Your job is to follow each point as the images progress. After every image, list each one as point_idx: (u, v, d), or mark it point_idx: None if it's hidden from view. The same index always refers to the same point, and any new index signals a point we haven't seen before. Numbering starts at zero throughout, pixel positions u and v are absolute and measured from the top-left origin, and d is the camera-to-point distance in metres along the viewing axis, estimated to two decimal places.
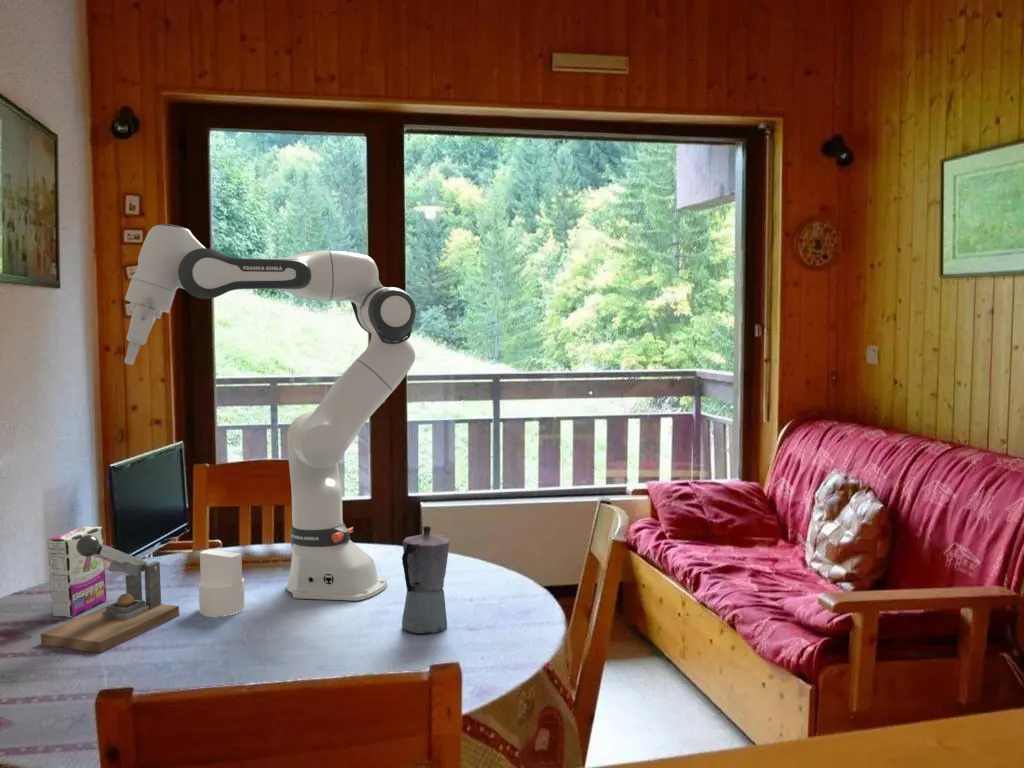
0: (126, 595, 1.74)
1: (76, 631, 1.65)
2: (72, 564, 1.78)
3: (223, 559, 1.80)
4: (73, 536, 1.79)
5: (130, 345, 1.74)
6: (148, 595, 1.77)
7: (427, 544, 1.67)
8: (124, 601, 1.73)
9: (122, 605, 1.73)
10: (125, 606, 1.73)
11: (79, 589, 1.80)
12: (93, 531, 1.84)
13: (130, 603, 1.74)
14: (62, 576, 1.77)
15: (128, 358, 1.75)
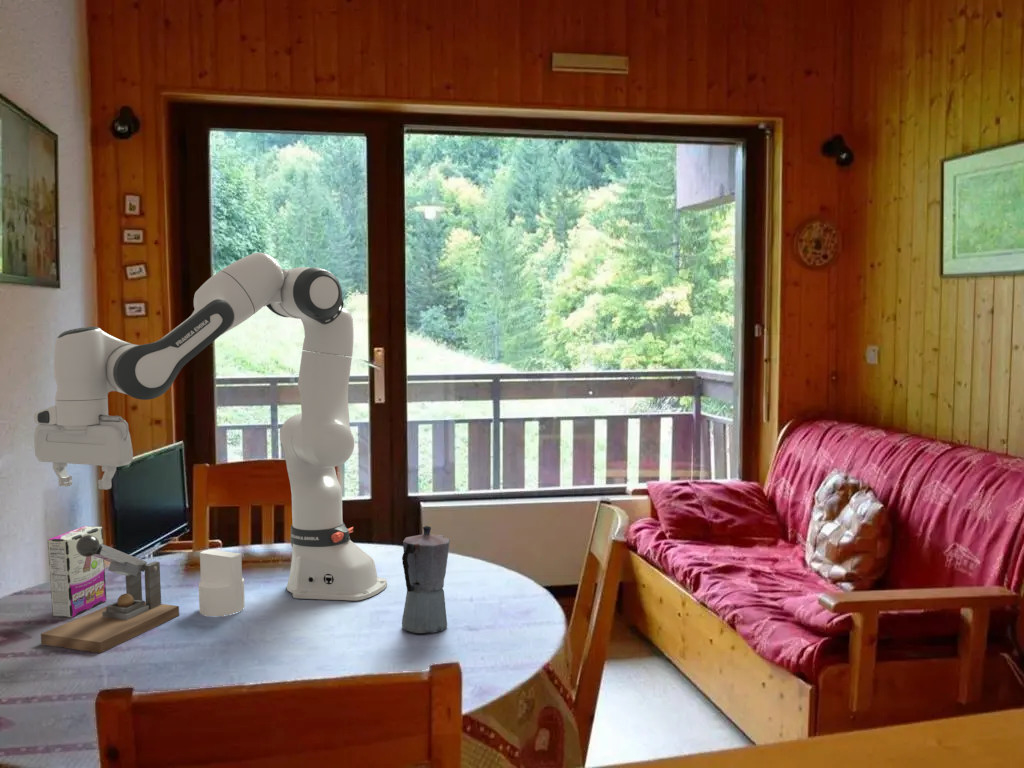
0: (126, 595, 1.74)
1: (76, 631, 1.65)
2: (72, 564, 1.78)
3: (223, 560, 1.80)
4: (73, 536, 1.79)
5: (109, 470, 1.61)
6: (148, 595, 1.77)
7: (427, 544, 1.67)
8: (124, 601, 1.73)
9: (122, 605, 1.73)
10: (125, 606, 1.73)
11: (79, 589, 1.80)
12: (93, 531, 1.84)
13: (130, 603, 1.74)
14: (62, 576, 1.77)
15: (106, 483, 1.62)
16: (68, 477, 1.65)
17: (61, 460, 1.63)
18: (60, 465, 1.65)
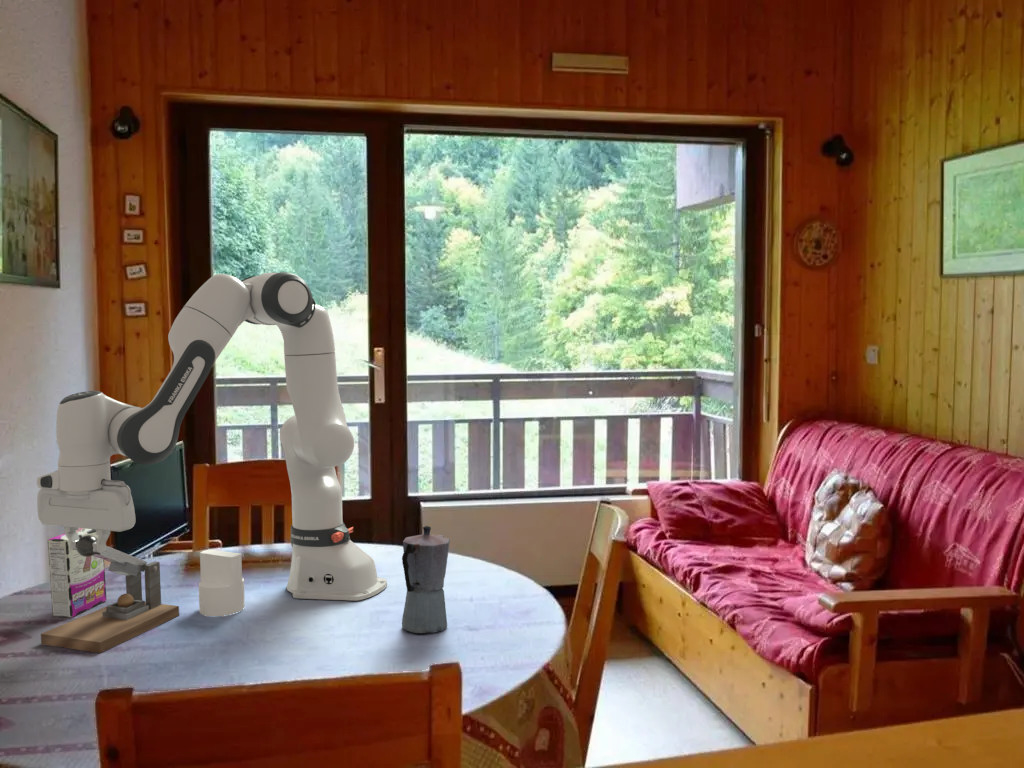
0: (126, 595, 1.74)
1: (76, 631, 1.65)
2: (72, 564, 1.78)
3: (223, 559, 1.80)
4: None
5: (103, 533, 1.63)
6: (148, 595, 1.77)
7: (427, 544, 1.67)
8: (124, 601, 1.73)
9: (122, 605, 1.73)
10: (125, 606, 1.73)
11: (79, 589, 1.80)
12: (93, 531, 1.84)
13: (130, 603, 1.74)
14: (62, 576, 1.77)
15: (101, 546, 1.64)
16: None
17: (64, 524, 1.64)
18: (71, 529, 1.65)
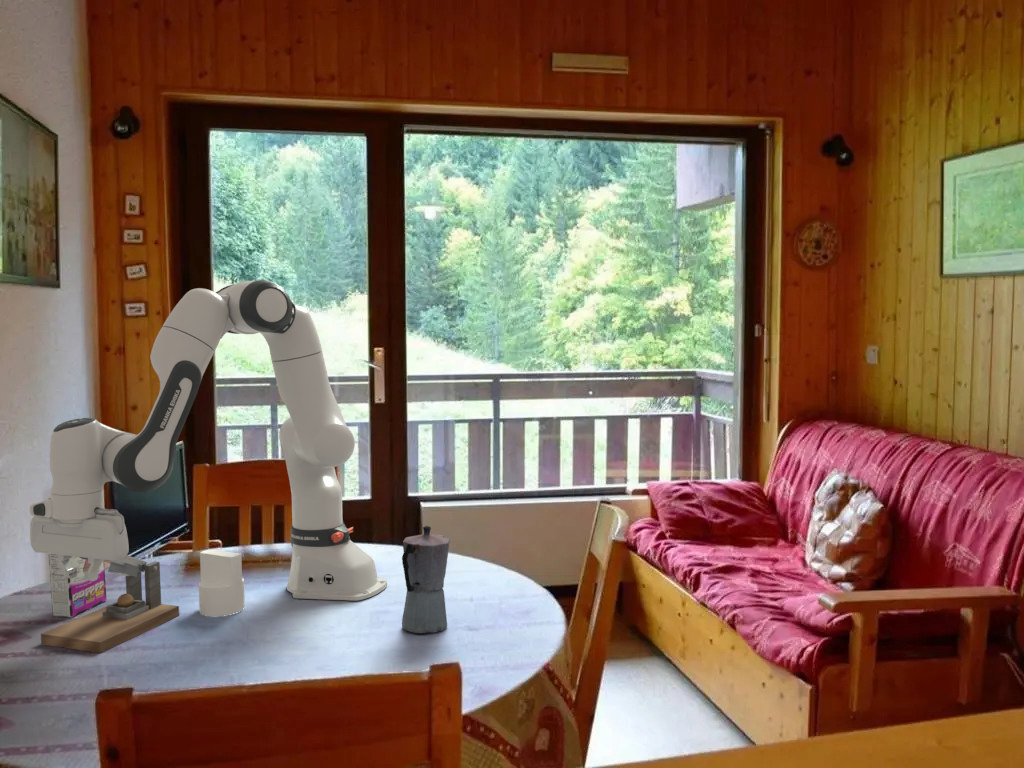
0: (126, 595, 1.74)
1: (76, 631, 1.65)
2: None
3: (223, 559, 1.80)
4: None
5: (95, 562, 1.61)
6: (148, 595, 1.77)
7: (427, 544, 1.67)
8: (124, 601, 1.73)
9: (122, 605, 1.73)
10: (125, 606, 1.73)
11: (79, 589, 1.80)
12: None
13: (130, 603, 1.74)
14: (62, 576, 1.77)
15: (92, 575, 1.62)
16: (73, 569, 1.64)
17: (57, 552, 1.63)
18: (65, 557, 1.64)
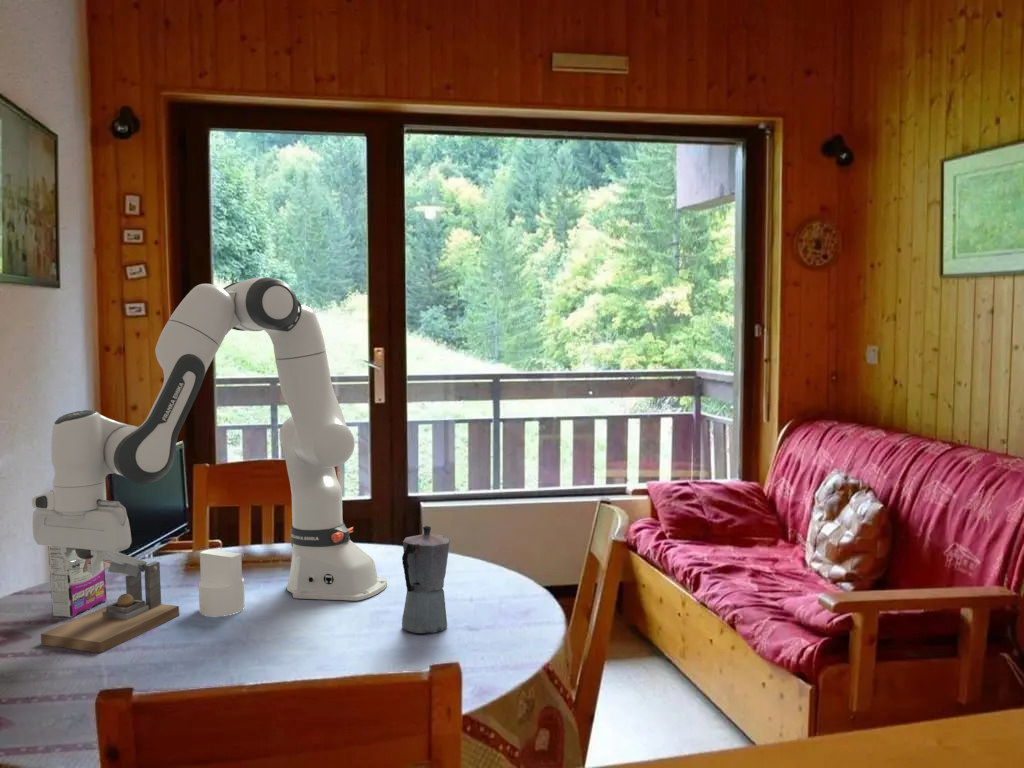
0: (126, 595, 1.74)
1: (76, 631, 1.65)
2: None
3: (223, 559, 1.80)
4: None
5: (98, 554, 1.62)
6: (148, 595, 1.77)
7: (427, 544, 1.67)
8: (124, 601, 1.73)
9: (122, 605, 1.73)
10: (125, 606, 1.73)
11: (79, 589, 1.80)
12: None
13: (130, 603, 1.74)
14: (62, 576, 1.77)
15: (95, 566, 1.63)
16: (76, 561, 1.65)
17: (59, 544, 1.63)
18: (68, 549, 1.64)
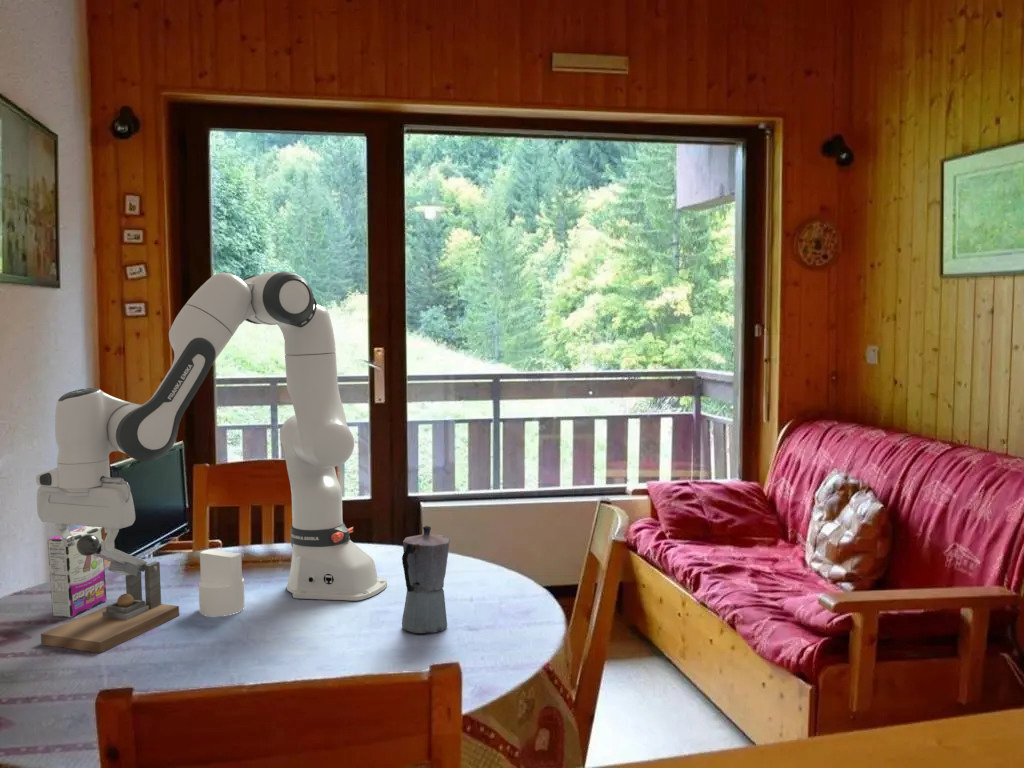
0: (126, 595, 1.74)
1: (76, 631, 1.65)
2: (72, 564, 1.78)
3: (223, 559, 1.80)
4: None
5: (111, 531, 1.62)
6: (148, 595, 1.77)
7: (427, 544, 1.67)
8: (124, 601, 1.73)
9: (122, 605, 1.73)
10: (125, 606, 1.73)
11: (79, 589, 1.80)
12: (93, 531, 1.84)
13: (130, 603, 1.74)
14: (62, 576, 1.77)
15: (109, 544, 1.63)
16: (71, 537, 1.66)
17: (64, 521, 1.64)
18: (63, 525, 1.66)
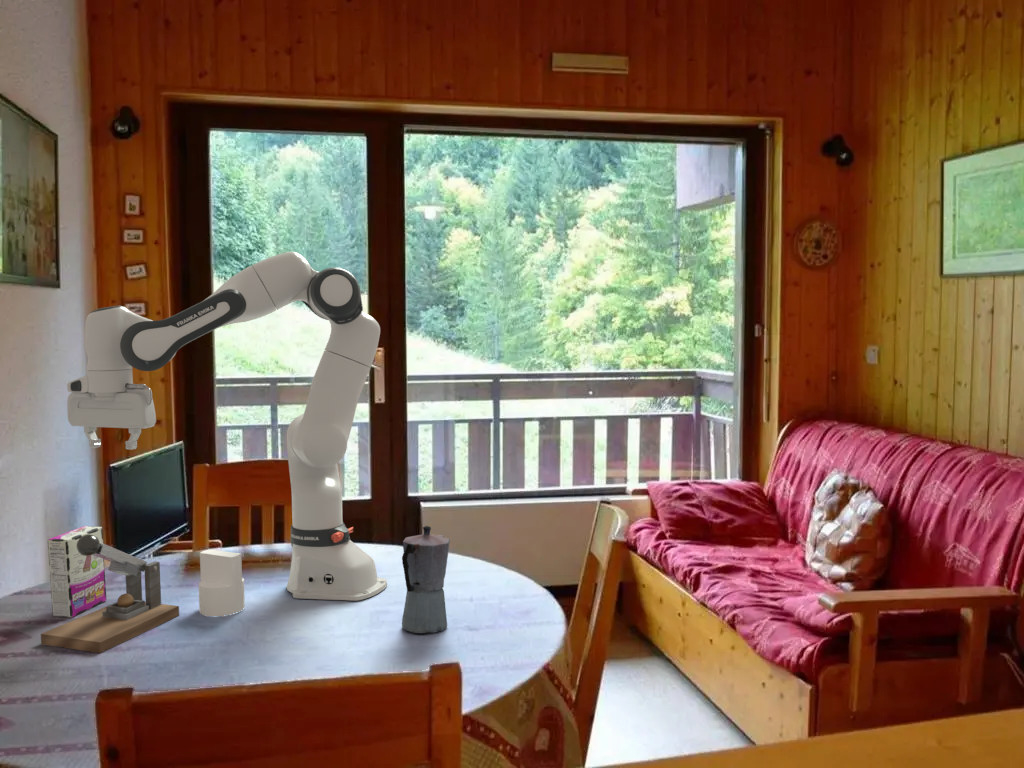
0: (126, 595, 1.74)
1: (76, 631, 1.65)
2: (72, 564, 1.78)
3: (223, 559, 1.80)
4: (73, 536, 1.79)
5: (135, 432, 1.82)
6: (148, 595, 1.77)
7: (427, 544, 1.67)
8: (124, 601, 1.73)
9: (122, 605, 1.73)
10: (125, 606, 1.73)
11: (79, 589, 1.80)
12: (93, 531, 1.84)
13: (130, 603, 1.74)
14: (62, 576, 1.77)
15: (133, 444, 1.83)
16: (98, 439, 1.87)
17: (92, 424, 1.84)
18: (90, 429, 1.86)
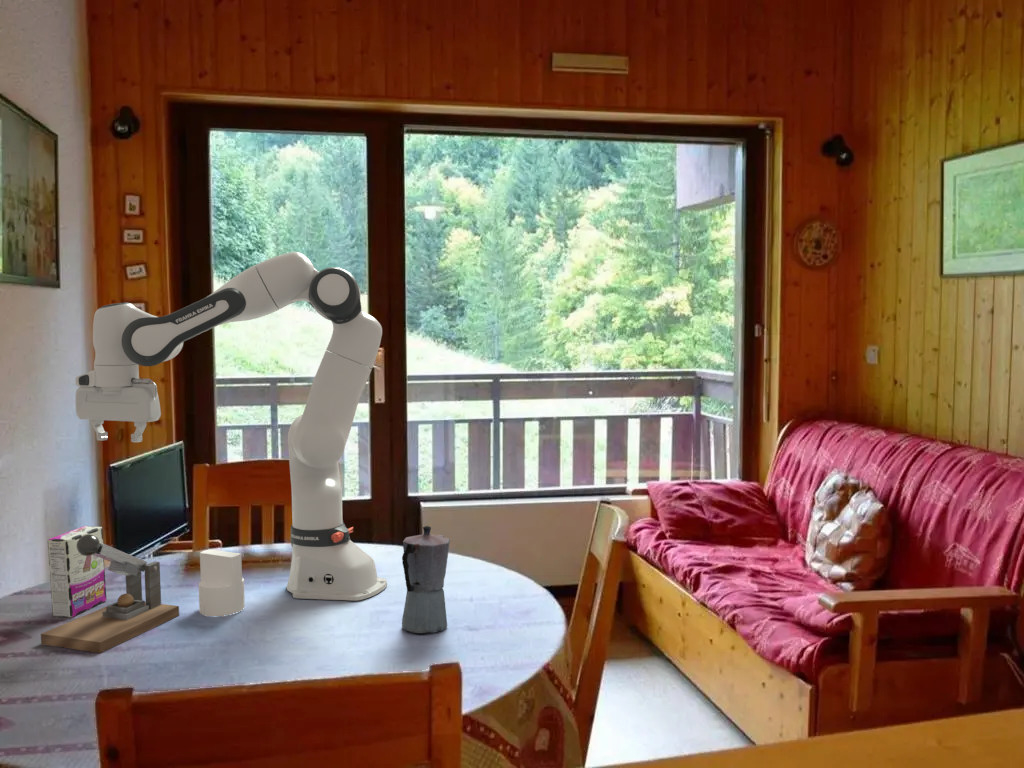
0: (126, 595, 1.74)
1: (76, 631, 1.65)
2: (72, 564, 1.78)
3: (223, 559, 1.80)
4: (73, 536, 1.79)
5: (140, 425, 1.88)
6: (148, 595, 1.77)
7: (427, 544, 1.67)
8: (124, 601, 1.73)
9: (122, 605, 1.73)
10: (125, 606, 1.73)
11: (79, 589, 1.80)
12: (93, 531, 1.84)
13: (130, 603, 1.74)
14: (62, 576, 1.77)
15: (138, 437, 1.89)
16: (104, 432, 1.92)
17: (99, 417, 1.90)
18: (98, 422, 1.92)
